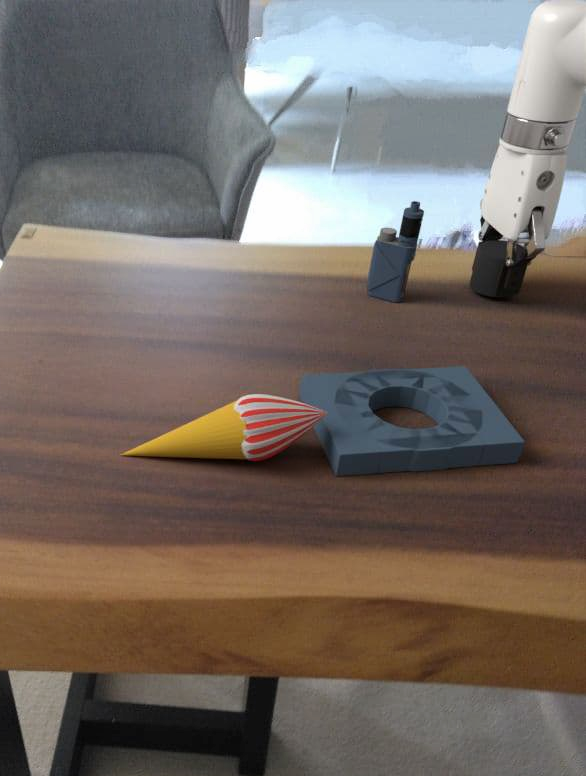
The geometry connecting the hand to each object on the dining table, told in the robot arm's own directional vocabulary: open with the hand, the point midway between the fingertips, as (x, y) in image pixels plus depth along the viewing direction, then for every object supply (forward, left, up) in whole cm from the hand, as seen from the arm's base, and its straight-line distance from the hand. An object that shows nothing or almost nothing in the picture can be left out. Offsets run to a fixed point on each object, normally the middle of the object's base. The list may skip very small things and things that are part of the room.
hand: (494, 281), depth 102 cm
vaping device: (+14, 0, -2) cm, 14 cm away
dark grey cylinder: (0, 0, -1) cm, 1 cm away
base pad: (+22, +29, -1) cm, 36 cm away
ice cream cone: (+41, +31, -2) cm, 52 cm away
